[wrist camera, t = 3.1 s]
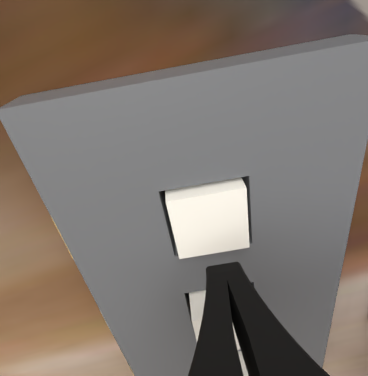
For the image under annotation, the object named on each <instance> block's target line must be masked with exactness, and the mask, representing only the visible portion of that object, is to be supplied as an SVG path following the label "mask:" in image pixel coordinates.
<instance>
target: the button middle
mask: <svg viewBox="0 0 368 376" xmlns="http://www.w3.org/2000/svg"><path fill="white" fill-rule="evenodd" d="M205 294H206V290H202V291H196V292H190V293H189V298H190V308H191V319H192V324H193V328H194V332H195V336H196V340H197V341H198V336H199V331H200V326H201V321H202V316H203V309H204V302H205ZM233 330H234V336H235V341H236V346H237V350H240V346H239V343H238V339H237V336H236V333H235V329H234V326H233Z"/></svg>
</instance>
